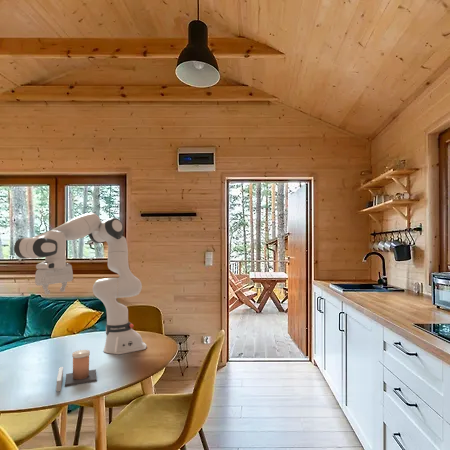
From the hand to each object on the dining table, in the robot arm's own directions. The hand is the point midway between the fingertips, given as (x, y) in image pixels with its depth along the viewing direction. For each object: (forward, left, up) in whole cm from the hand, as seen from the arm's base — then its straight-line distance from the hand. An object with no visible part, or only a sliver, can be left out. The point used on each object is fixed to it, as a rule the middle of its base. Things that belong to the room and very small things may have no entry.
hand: (55, 292), depth 158 cm
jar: (-12, +23, -33) cm, 42 cm away
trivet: (-12, +23, -34) cm, 43 cm away
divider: (-4, +25, -34) cm, 43 cm away
